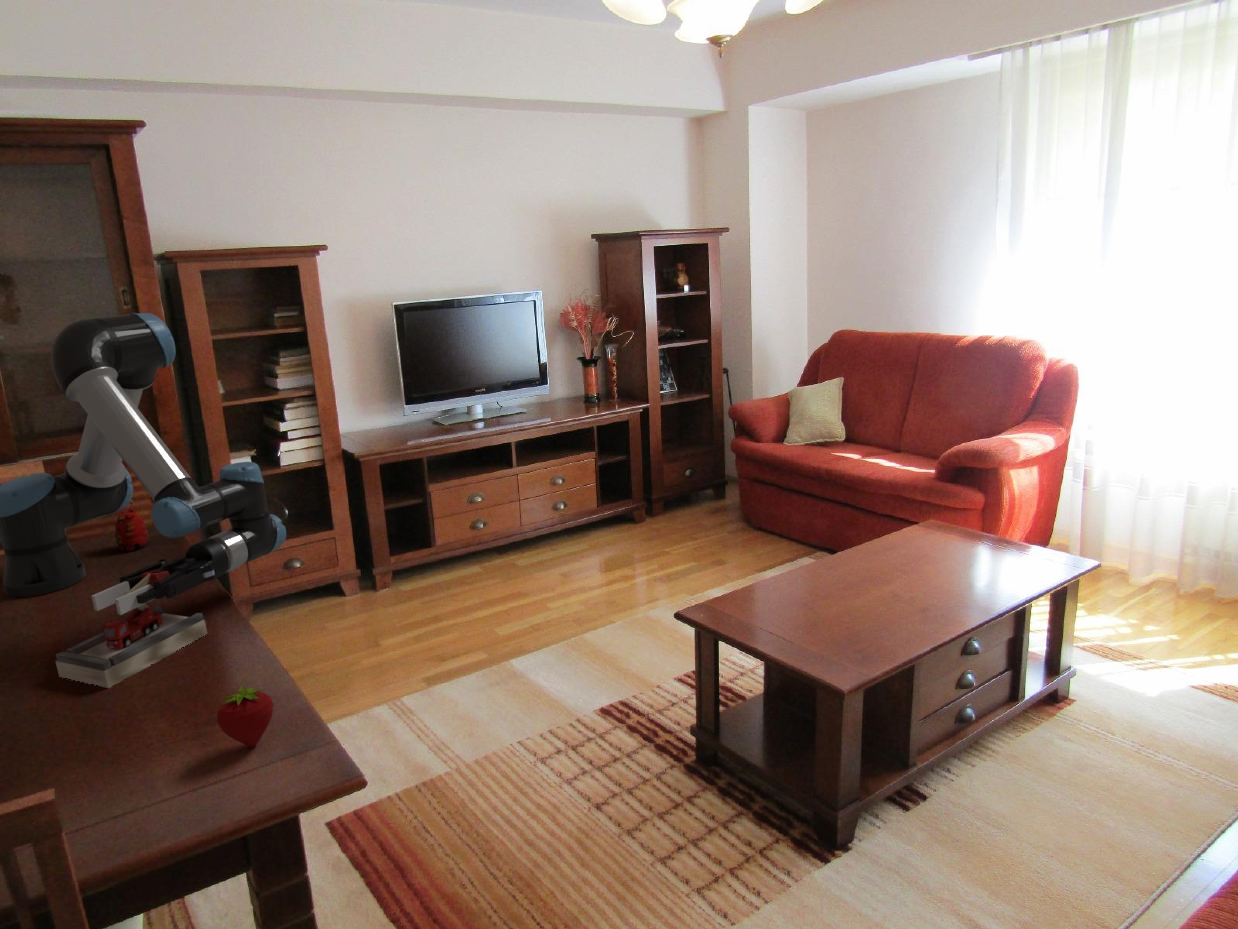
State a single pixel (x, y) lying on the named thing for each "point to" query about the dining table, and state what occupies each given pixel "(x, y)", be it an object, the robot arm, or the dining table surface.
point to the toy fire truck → (135, 618)
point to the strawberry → (246, 715)
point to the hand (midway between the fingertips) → (106, 605)
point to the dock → (128, 651)
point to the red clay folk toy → (130, 530)
